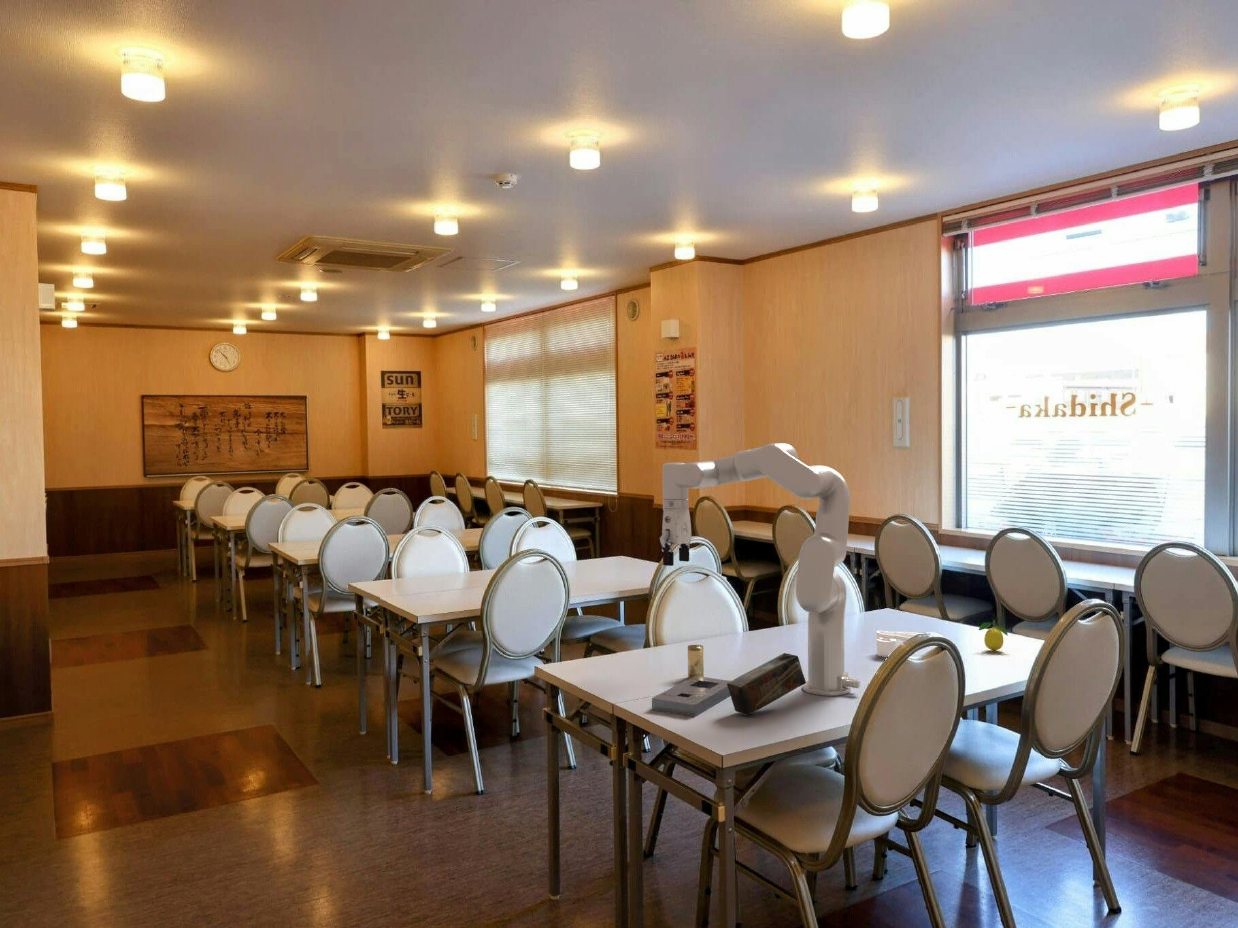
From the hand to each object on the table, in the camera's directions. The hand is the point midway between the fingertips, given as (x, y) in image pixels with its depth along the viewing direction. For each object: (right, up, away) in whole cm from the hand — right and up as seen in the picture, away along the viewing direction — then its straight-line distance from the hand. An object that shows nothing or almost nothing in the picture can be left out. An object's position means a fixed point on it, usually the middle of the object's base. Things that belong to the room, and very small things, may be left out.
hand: (676, 563), depth 267 cm
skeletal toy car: (+70, -30, +9) cm, 77 cm away
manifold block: (+3, -32, -31) cm, 45 cm away
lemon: (+99, -30, +16) cm, 105 cm away
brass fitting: (+5, -32, -9) cm, 33 cm away
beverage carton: (+14, -34, -42) cm, 56 cm away
